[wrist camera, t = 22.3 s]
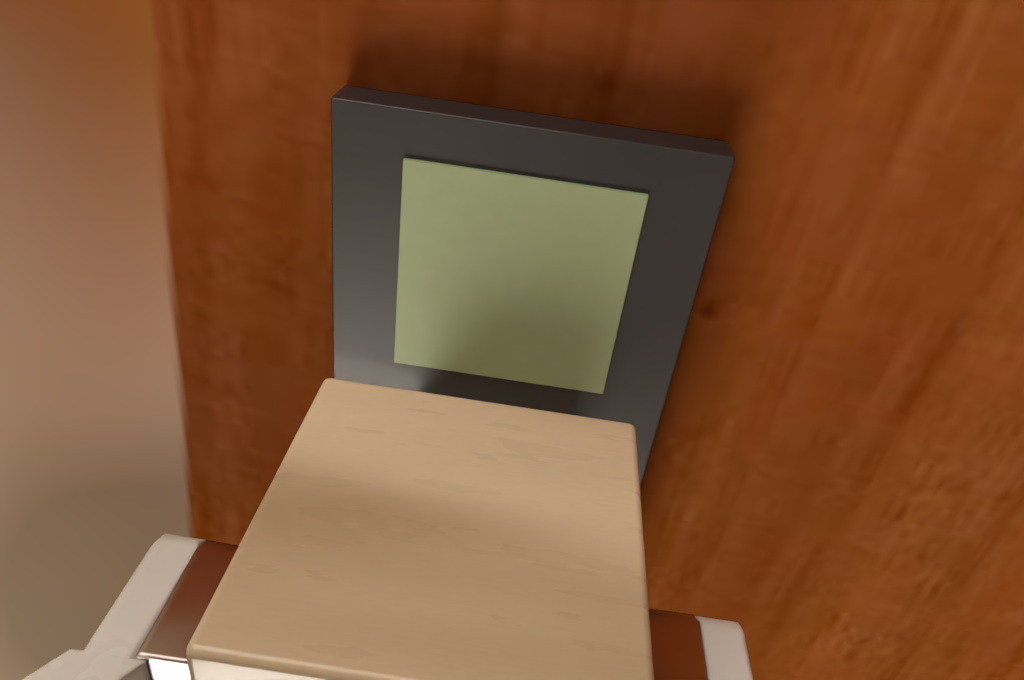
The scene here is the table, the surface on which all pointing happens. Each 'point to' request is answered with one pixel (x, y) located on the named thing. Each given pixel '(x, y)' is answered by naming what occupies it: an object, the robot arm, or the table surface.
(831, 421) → the table surface
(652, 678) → the tile
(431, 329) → the dark grey flat block
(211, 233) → the table surface
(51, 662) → the robot arm
